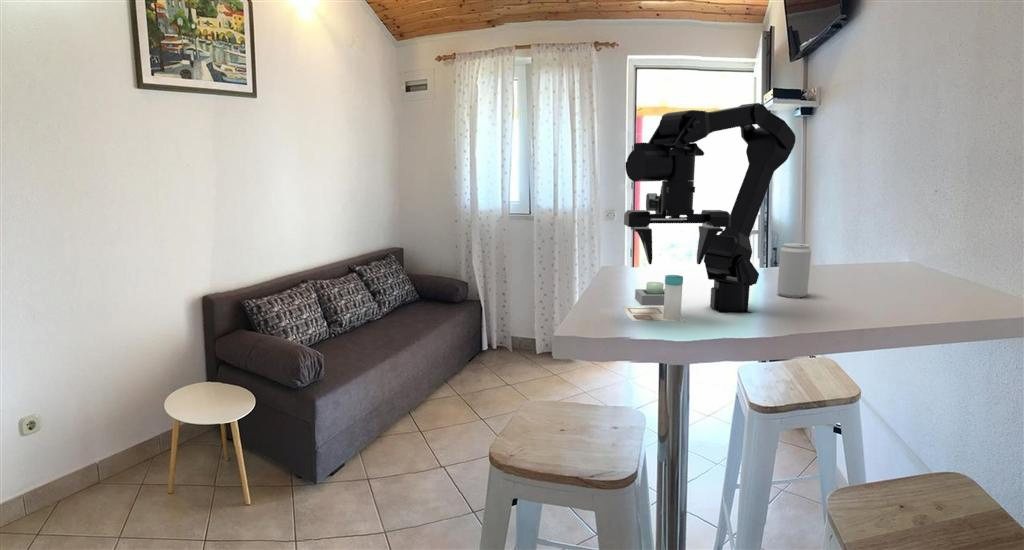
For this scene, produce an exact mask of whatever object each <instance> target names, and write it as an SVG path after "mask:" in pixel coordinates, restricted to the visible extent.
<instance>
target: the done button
mask: <svg viewBox="0 0 1024 550" xmlns="http://www.w3.org/2000/svg"><path fill="white" fill-rule="evenodd" d="M645 286H646V287H645V289H646V294H663V289H664V287H665V283H664V282H661V281H660V282H659V281H647V282H646V285H645Z"/></svg>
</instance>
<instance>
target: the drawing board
mask: <svg viewBox="0 0 1024 550" xmlns="http://www.w3.org/2000/svg"><path fill="white" fill-rule="evenodd" d="M621 308H622V309H623V311H624V312H625V313H626V314H627V316H628V317H629V319H630V320H631V322H686V320H685V319H684V318H682V317H681V319H680V320H667V319H664V318H663V315H664V306H644V305H640V306H639V305H638V306H636V305H635V306H627V305H625V306H621Z"/></svg>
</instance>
